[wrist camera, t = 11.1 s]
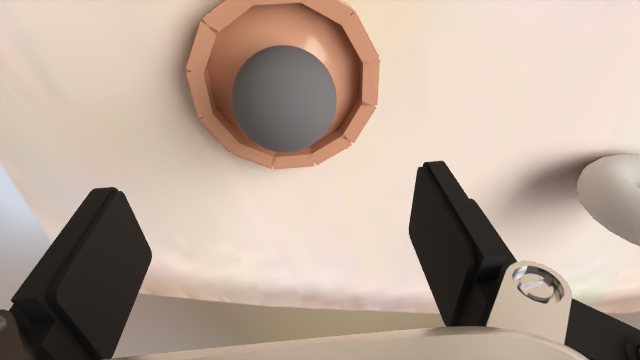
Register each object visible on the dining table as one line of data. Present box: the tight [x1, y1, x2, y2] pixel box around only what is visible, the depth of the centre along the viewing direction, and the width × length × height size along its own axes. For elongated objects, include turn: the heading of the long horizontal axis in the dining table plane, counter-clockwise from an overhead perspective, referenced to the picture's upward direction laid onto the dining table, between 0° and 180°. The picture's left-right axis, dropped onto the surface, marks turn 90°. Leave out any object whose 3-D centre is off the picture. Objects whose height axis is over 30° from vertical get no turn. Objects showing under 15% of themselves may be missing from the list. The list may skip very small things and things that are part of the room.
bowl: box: [186, 0, 380, 169], centre depth 22 cm, size 12×12×2 cm
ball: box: [232, 45, 337, 152], centre depth 20 cm, size 6×6×6 cm
